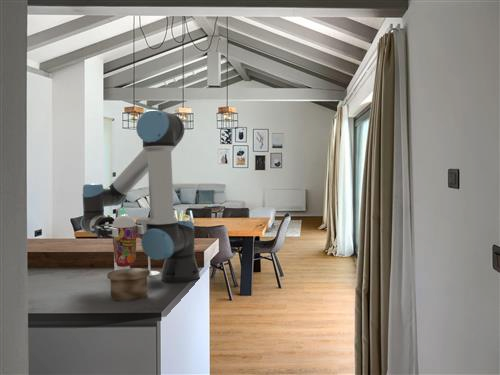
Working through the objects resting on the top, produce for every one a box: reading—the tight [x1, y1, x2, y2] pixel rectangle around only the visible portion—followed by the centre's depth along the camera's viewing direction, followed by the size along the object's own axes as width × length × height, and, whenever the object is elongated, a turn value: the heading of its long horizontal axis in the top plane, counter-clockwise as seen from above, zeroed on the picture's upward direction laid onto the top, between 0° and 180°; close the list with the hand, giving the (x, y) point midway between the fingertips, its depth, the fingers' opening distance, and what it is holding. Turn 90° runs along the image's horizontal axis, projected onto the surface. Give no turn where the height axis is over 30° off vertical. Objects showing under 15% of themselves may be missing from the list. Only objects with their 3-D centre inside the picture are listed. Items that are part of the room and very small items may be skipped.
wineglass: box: [135, 217, 161, 277], centre depth 187 cm, size 9×10×23 cm
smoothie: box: [111, 206, 137, 267], centre depth 152 cm, size 8×8×20 cm
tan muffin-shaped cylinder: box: [106, 267, 151, 302], centre depth 153 cm, size 14×14×8 cm
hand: (130, 231), depth 149 cm, fingers closed on smoothie, 8 cm apart
